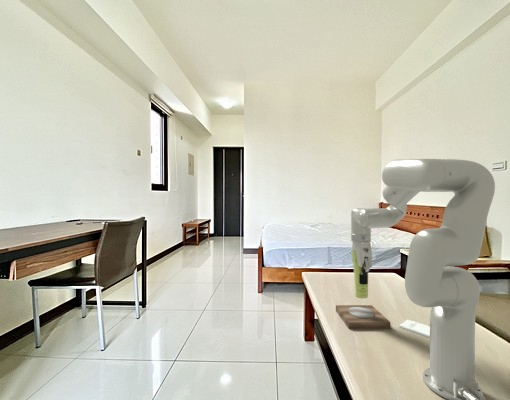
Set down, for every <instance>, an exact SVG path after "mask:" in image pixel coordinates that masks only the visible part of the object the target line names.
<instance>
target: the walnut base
mask: <svg viewBox="0 0 510 400" xmlns="http://www.w3.org/2000/svg"><path fill="white" fill-rule="evenodd" d="M335 312H336V314H338V316H339V318H340V319H341V320H342V322H343V323H344V324H345V325H346V327H347V329H348V330H349V329H350V330H352V329H353V330H361V329H362V330H363V329H364V330H365V329H366V330H368V329H370V330H373V329H374V330H379V329H380V330H381V329H382V330H383V329H386V330H388V329H391V321H390V320H389V319H388V318H386V316H384V315H383V314H382V313H381V312H380V311H379V310H378V309H377V308H375V307H374V306H373V305H372V304H369V305H368V304H364V305H361V304H356V305H355V304H352V305H351V304H345V305H343V304H342V305H341V304H336V305H335Z"/></svg>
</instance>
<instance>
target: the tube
mask: <svg viewBox="0 0 510 400" xmlns="http://www.w3.org/2000/svg"><path fill="white" fill-rule="evenodd" d="M352 257H353V261H352V263H353V264H352V265H353V277H354V296H355V297H356V298H358V299H367V298H368V297H369V283H368V284H360V283H359V274H360V267H359V266H358V265H357V262H356V255H355V250H352V249H351V258H352ZM362 267H365V265H362ZM363 269H365V268H362V271H363ZM369 271H370V270H369ZM369 271H368V273H369Z"/></svg>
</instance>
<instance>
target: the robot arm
mask: <svg viewBox="0 0 510 400" xmlns="http://www.w3.org/2000/svg"><path fill="white" fill-rule="evenodd" d="M381 179H382V182H383V183H384V185H385V187H384V188H383V189H382V197H383V199H384V200H385V202H386V203H387V204H388V206H387V207H385V208H383V207H382V208H365V207H364V208H362V207H361V208H359V207H358V208H355V207H354V208H353V209H351V213H350V217H351V218H350V225H351V226H350V227H351V228H350V229H351V230H350V231H351V235H350V236H351V237H350V239H351V242H352V244H351V251H352V250H355V255H356V262H357V265H358V266H359V267H360V274H359V283H360V284H368V285H369V272H368V271H370V270H371V268H372V267H373V253H372V244H371V243H372V238H371V237H372V229H381V228H382V229H387V228H391V227H394V226H395V225H397V224H398V223H399V222H400V221H402V219H404V217H405V216H406V214H407V210H408V203H409V202H410V201H411V200H413V198H415V197H416V196H417V195H418V194H419V193H420V192H423V193H430V192H432V193H448V192H449V193H451V192H452V193H453V194H454V195H453V196H452V198H451V199H450V200H449V202H448V203H447V205H446V206H445V209H444V212H443V216H442V222H441V225H440V227H437V228H426V229H422V230H420V231H418V232H417V233H416V234H415V235H414V236H413V238H411V241H410V244H409V249H408V255H407V261H406V269H405V274H404V289H405V292H406V295H407V296H408V298H409V300H410V301H411V302H412V303H413V304H415V305H416V306H418V307H422V308H431V309H430V313H429V326H430V338H429V368H426V369H425V370H424V371H423V373H422V378H423V381H424V384H426V386H427V387H428V388H429V389H430V390H431V391H433V392H434V393H435V394H437V395H438V396H440V397H443V398H445V399H446V400H486V399H487V398H486V397H485V395H484V392H483V390H482V388H481V387H480V385H479V382H477V380H476V354H475V353H476V343H475V342H476V315H477V308H478V304H479V300H480V295H481V289H480V284H479V282H478V280H477V278H476V277H475V275H474V274H473V273H471V272H470V271H468V270H467V269H465V268H463V267H460V266H467V265H471V264H475V262H477V261H478V259H479V257H480V254H481V252H482V251H481V250H482V246H483V241H484V236H485V232H486V227H487V221H488V215H489V212H490V209H491V205H492V203H493V199H494V196H495V193H496V192H495V191H496V190H495V189H496V182H495V179H494V176H493V174H492V173H491V171H490V170H489V169H488V168H487V167H486V166H484V165H482V164H480V163H478V162H476V161H473V160H467V159H457V158H456V159H455V158H454V159H452V158H450V159H449V158H447V159H446V158H416V159H415V158H414V159H413V158H411V159H410V158H409V159H399V158H398V159H393V160H391V161H390V162H388V163H387V164H386V165H385V166H384V168H383V170H382V173H381ZM351 261H352V262H353V257H352V256H351ZM362 265H365V267H362ZM362 268H365V269H363V271H362Z"/></svg>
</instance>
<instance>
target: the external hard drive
mask: <svg viewBox="0 0 510 400" xmlns="http://www.w3.org/2000/svg"><path fill="white" fill-rule="evenodd" d="M399 329H402V330H405V331H409V332H411V333H413V334H416V335H419V336H422V337H425V338H428V339H430V325H426V324H423V323H421V322H417V321H413V320H410V319H408V318H407V319H406V320H404V322H402V323H400V324H399Z"/></svg>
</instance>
